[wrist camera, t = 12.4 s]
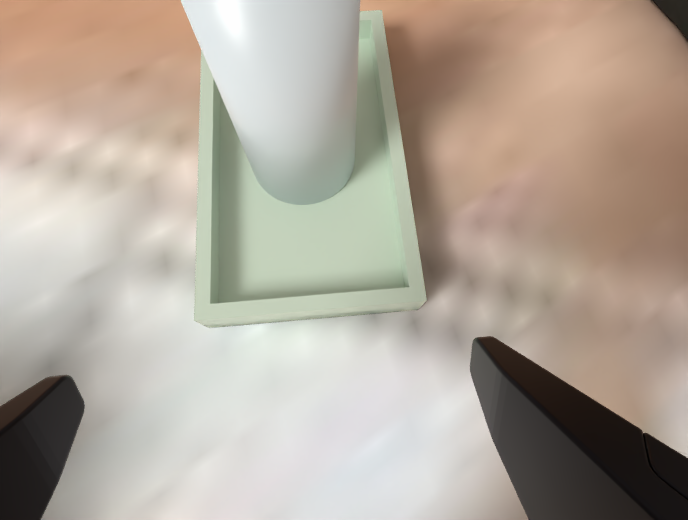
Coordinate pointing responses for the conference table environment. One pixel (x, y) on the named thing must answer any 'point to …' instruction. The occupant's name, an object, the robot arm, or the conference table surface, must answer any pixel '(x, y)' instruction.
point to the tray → (308, 218)
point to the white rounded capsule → (287, 87)
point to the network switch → (676, 12)
